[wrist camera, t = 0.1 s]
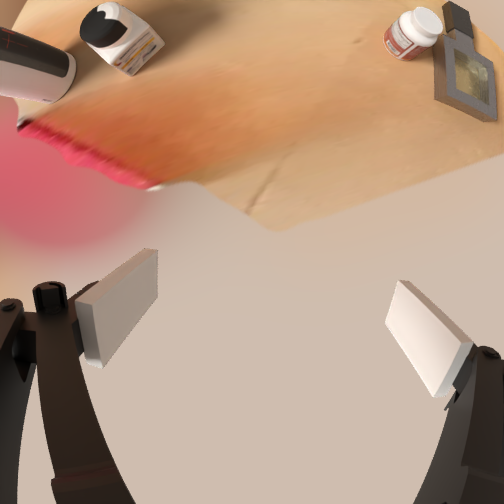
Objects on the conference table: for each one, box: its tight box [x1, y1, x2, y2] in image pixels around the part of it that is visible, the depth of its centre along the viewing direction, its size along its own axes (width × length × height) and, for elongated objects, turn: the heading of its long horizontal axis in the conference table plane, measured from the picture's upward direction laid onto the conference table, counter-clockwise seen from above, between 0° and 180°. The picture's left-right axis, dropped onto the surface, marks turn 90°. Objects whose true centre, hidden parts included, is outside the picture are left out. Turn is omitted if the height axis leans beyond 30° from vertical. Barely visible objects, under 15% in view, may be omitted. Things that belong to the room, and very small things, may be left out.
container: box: [80, 2, 165, 76], centre depth 29 cm, size 8×8×13 cm
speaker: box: [0, 26, 76, 104], centre depth 23 cm, size 11×10×26 cm
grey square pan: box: [433, 1, 497, 122], centre depth 30 cm, size 23×12×4 cm, turn 174°
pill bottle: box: [383, 7, 443, 60], centre depth 27 cm, size 6×6×11 cm
